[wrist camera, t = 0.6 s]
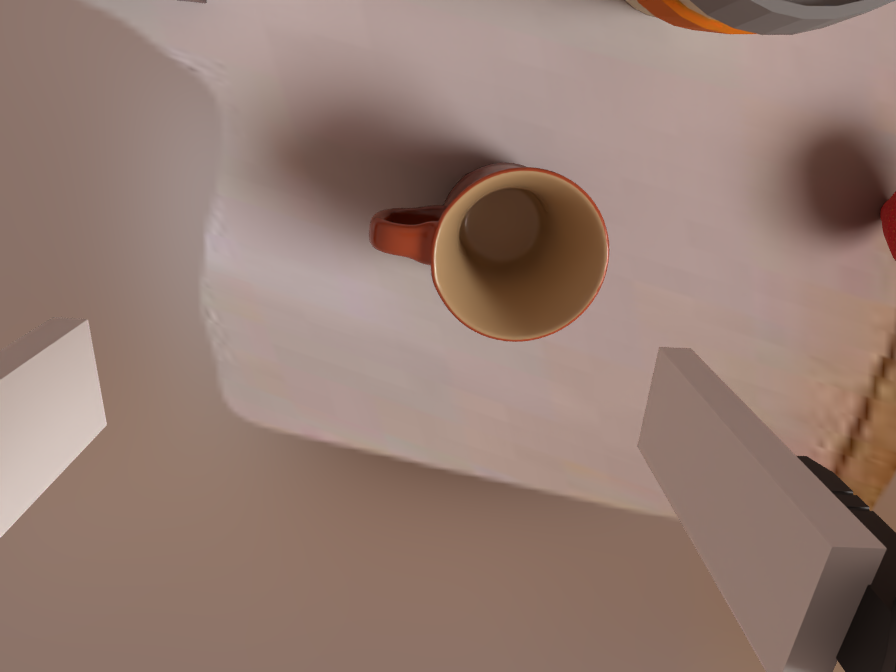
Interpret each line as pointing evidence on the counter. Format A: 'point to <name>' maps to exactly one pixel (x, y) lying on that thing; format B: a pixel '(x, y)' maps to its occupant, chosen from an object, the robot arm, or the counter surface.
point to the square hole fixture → (201, 0)
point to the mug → (506, 249)
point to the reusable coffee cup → (755, 14)
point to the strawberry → (889, 223)
